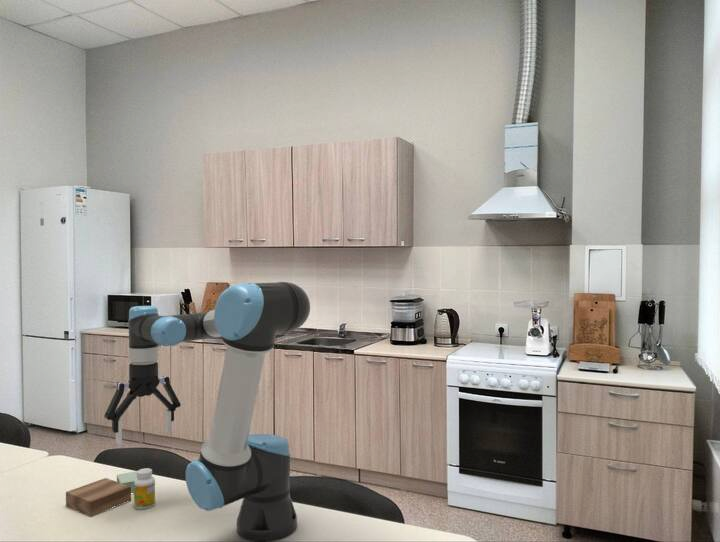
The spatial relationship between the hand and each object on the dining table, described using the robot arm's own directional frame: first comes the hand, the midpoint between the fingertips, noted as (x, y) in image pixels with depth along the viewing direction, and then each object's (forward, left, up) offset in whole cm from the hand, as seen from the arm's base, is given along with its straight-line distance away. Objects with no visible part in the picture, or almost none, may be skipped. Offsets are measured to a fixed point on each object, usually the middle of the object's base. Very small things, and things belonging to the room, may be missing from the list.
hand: (144, 438), depth 157 cm
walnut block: (+10, +9, -19) cm, 23 cm away
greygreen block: (+14, -2, -19) cm, 24 cm away
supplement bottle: (0, 0, -19) cm, 19 cm away
